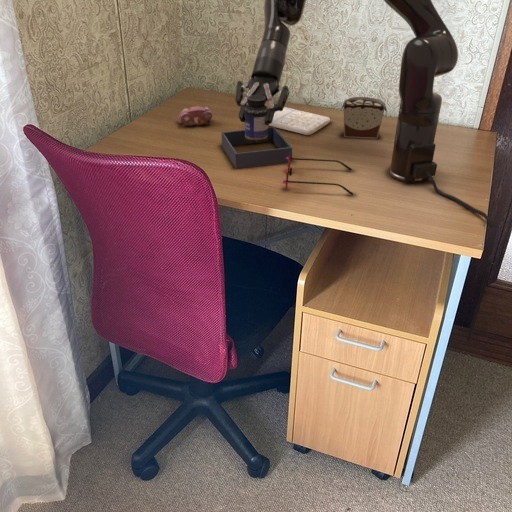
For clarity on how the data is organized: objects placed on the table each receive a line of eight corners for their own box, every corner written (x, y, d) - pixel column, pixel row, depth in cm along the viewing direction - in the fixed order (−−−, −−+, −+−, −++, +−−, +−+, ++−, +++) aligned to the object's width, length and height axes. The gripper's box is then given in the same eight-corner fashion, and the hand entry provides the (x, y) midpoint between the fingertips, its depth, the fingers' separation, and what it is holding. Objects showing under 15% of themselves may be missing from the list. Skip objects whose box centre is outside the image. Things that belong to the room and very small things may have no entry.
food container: (380, 130, 167) (385, 97, 161) (382, 138, 161) (387, 104, 156) (338, 129, 167) (341, 95, 162) (338, 136, 162) (342, 102, 157)
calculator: (309, 136, 163) (310, 130, 161) (251, 122, 172) (251, 115, 171) (331, 122, 172) (331, 116, 171) (275, 109, 181) (275, 103, 180)
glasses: (285, 166, 145) (286, 148, 143) (351, 170, 144) (353, 151, 141) (282, 191, 134) (282, 172, 131) (353, 195, 132) (355, 176, 130)
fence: (291, 162, 148) (292, 147, 146) (235, 168, 144) (235, 154, 142) (273, 140, 160) (274, 126, 158) (221, 146, 156) (221, 132, 154)
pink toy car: (180, 131, 169) (180, 114, 163) (177, 120, 171) (177, 103, 165) (212, 128, 171) (214, 111, 165) (209, 117, 173) (211, 100, 167)
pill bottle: (242, 136, 151) (241, 94, 145) (264, 133, 153) (264, 92, 147) (248, 144, 147) (248, 102, 140) (271, 141, 148) (271, 100, 142)
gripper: (239, 52, 147) (223, 112, 144) (293, 57, 143) (278, 119, 140) (247, 68, 154) (232, 125, 151) (298, 73, 150) (284, 132, 147)
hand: (254, 122), depth 146 cm, fingers closed on pill bottle, 6 cm apart
